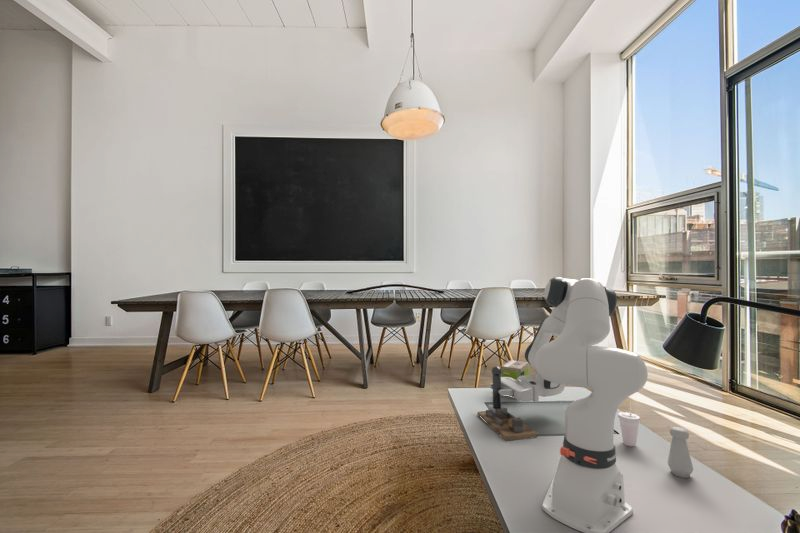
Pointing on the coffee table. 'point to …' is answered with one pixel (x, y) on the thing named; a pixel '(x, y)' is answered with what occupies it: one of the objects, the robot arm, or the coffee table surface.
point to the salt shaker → (679, 453)
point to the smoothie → (629, 427)
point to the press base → (508, 426)
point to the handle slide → (497, 395)
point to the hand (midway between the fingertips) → (494, 389)
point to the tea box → (515, 369)
